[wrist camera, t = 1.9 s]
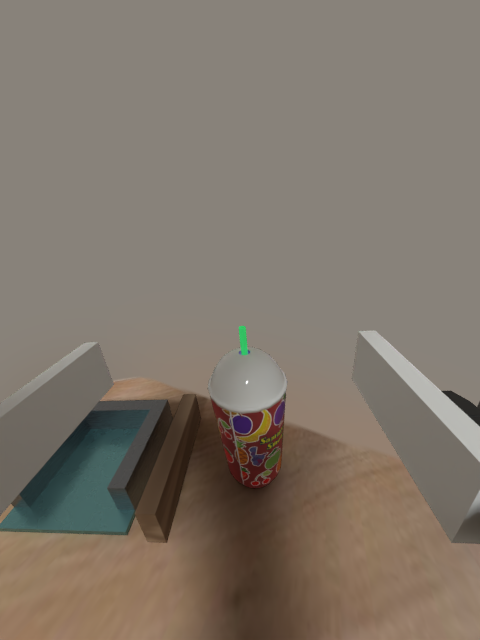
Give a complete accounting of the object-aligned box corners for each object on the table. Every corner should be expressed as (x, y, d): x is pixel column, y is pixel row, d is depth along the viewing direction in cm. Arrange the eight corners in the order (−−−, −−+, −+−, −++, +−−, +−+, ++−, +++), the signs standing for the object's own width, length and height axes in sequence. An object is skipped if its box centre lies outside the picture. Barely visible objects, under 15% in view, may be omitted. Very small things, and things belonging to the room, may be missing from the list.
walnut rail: (200, 417, 38) (195, 394, 36) (166, 542, 23) (154, 514, 21) (189, 418, 38) (183, 394, 36) (147, 542, 23) (134, 513, 21)
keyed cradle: (173, 420, 38) (167, 399, 36) (127, 535, 24) (114, 510, 22) (88, 422, 39) (79, 401, 37) (-1, 530, 26) (-23, 507, 24)
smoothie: (284, 510, 25) (281, 353, 17) (213, 492, 27) (181, 346, 19) (290, 443, 32) (290, 311, 24) (233, 433, 35) (216, 310, 27)
